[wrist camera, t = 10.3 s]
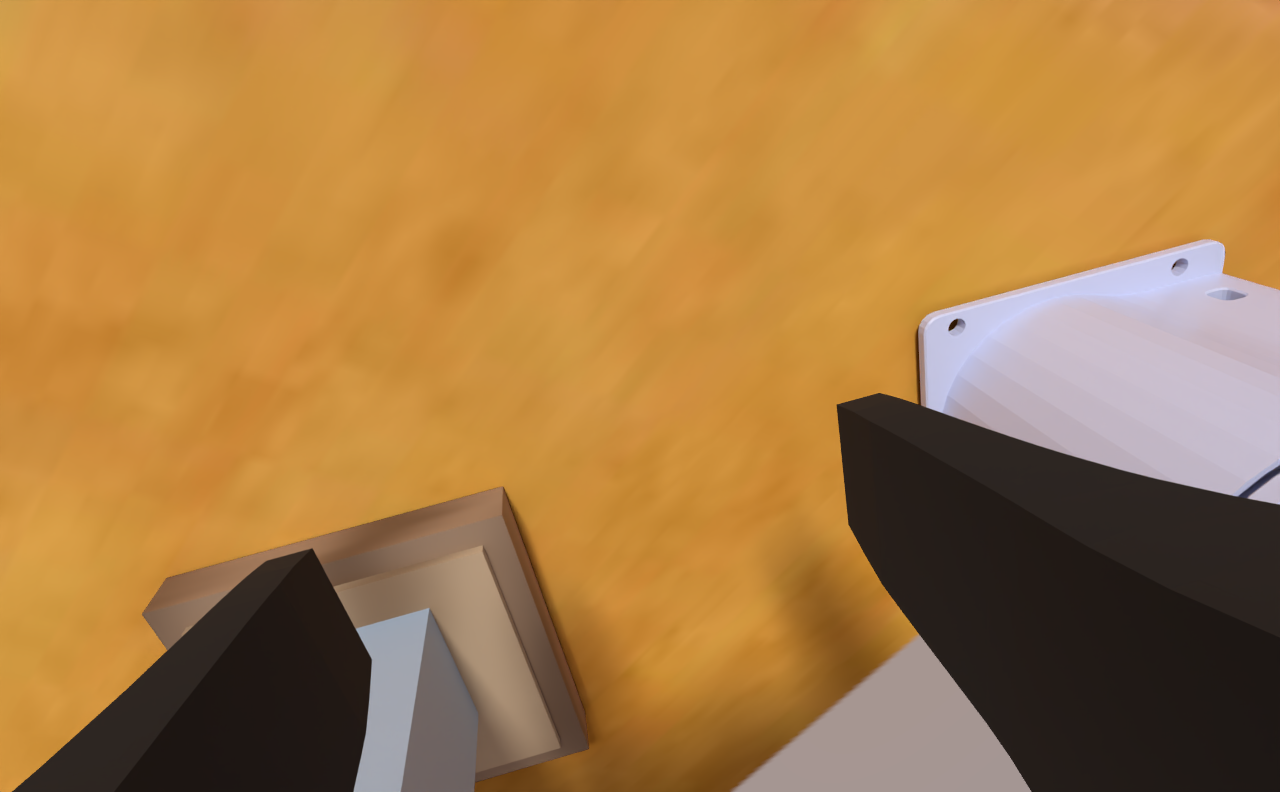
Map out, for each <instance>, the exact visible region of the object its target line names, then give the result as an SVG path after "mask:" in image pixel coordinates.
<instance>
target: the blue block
mask: <svg viewBox="0 0 1280 792" xmlns="http://www.w3.org/2000/svg"><path fill="white" fill-rule="evenodd" d="M356 630H357V632H358V634H359V636H360V638H361V640H362V642H363V643H364V645H365V647H366V649H367V651H368V653H369V655H370V656H371V658H372V668H371V684H370V699H369V709H368V719H367V729H366V736H365V741H364V746H363V750H362V755H361V760H360V764H359V769H358V774H357V778H356V783H355V787H354V792H474V787H475V769H476V751H477V732H478V712H477V709H476V707H475V705H474V703H473V701H472V699H471V696H470V694H469V692H468V690H467V688H466V686H465V684H464V681H463V679H462V677H461V675H460V673H459V671H458V668H457V666H456V664H455V662H454V660H453V658H452V655H451V653H450V651H449V649H448V647H447V645H446V643H445V640H444V638H443V636H442V634H441V632H440V630H439V627H438V625H437V623H436V621H435V619H434V617H433V614H432V612H431V610H430V608H427V609H424V610H420V611H417V612H413V613H410V614H406V615H402V616H399V617H395V618H392V619H388V620H385V621H381V622H377V623H374V624H370V625H367V626H363V627H360V628H356Z"/></svg>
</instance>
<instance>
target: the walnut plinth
mask: <svg viewBox="0 0 1280 792" xmlns="http://www.w3.org/2000/svg"><path fill="white" fill-rule="evenodd" d="M311 548H313V550H314V552H315V554H316V556H317V558H318V559H319V561H320V563H321V565H322V567H323V569H324V571H325V573H326V574H327V576H328V578H329V580H330V582H331V584H332V586H333V587H334V589H335V591H336V593H337V595H338V597H339V599H340V600H341V602H342V604H343V606H344V608H345V610H346V612H347V614H348V615H349V617H350V619H351V621H352V623H353V625H354V627H355V628H360V627H363V626H367V625H370V624H374V623H377V622H381V621H385V620H388V619H392V618H395V617H399V616H402V615H406V614H410V613H413V612H417V611H420V610H424V609H427V608H430V610H431V612H432V614H433V617H434V619H435V621H436V623H437V625H438V627H439V630H440V632H441V634H442V636H443V638H444V640H445V643H446V645H447V647H448V649H449V651H450V653H451V655H452V658H453V660H454V662H455V664H456V666H457V668H458V671H459V673H460V675H461V677H462V679H463V681H464V684H465V686H466V688H467V690H468V692H469V694H470V696H471V699H472V701H473V703H474V705H475V707H476V709H477V712H478V732H477V751H476V769H475V782H478V781H482V780H485V779H489V778H492V777H495V776H499V775H502V774H506V773H509V772H512V771H516V770H519V769H522V768H526V767H529V766H533V765H536V764H539V763H543V762H546V761H550V760H553V759H556V758H560V757H563V756H567V755H570V754H573V753H577V752H580V751H584V750H587V749H589V743H588V734H587V725H586V716H585V711H584V708H583V706H582V703H581V700H580V697H579V695H578V692H577V689H576V686H575V684H574V681H573V678H572V675H571V673H570V670H569V667H568V664H567V662H566V659H565V656H564V653H563V651H562V648H561V645H560V642H559V640H558V637H557V634H556V631H555V629H554V626H553V623H552V620H551V618H550V615H549V612H548V609H547V607H546V604H545V601H544V599H543V596H542V593H541V590H540V588H539V585H538V582H537V579H536V577H535V574H534V571H533V568H532V566H531V563H530V560H529V557H528V555H527V552H526V549H525V546H524V544H523V541H522V538H521V535H520V533H519V530H518V527H517V524H516V522H515V519H514V516H513V513H512V511H511V508H510V505H509V502H508V500H507V497H506V494H505V491H504V489H503V487H499V488H495V489H492V490H488V491H484V492H481V493H477V494H473V495H470V496H466V497H462V498H459V499H455V500H451V501H448V502H444V503H440V504H437V505H433V506H429V507H426V508H422V509H418V510H415V511H411V512H407V513H404V514H400V515H396V516H393V517H389V518H385V519H382V520H378V521H374V522H371V523H367V524H363V525H360V526H356V527H352V528H349V529H345V530H341V531H338V532H334V533H330V534H327V535H323V536H319V537H316V538H312V539H308V540H305V541H301V542H297V543H294V544H290V545H286V546H283V547H279V548H275V549H272V550H268V551H264V552H261V553H257V554H253V555H250V556H246V557H242V558H239V559H235V560H231V561H228V562H224V563H220V564H217V565H213V566H209V567H206V568H202V569H198V570H195V571H191V572H187V573H184V574H180V575H176V576H173V577H169V578H166V579H165V581H164V582H163V584H162V585H161V587H160V588H159V590H158V591H157V593H156V594H155V596H154V597H153V598H152V600H151V601H150V603H149V604H148V606H147V607H146V609H145V610H144V612H143V613H142V615H143V616H144V618H145V619H146V621H147V622H148V623H149V625H150V626H151V628H152V629H153V630H154V632H155V633H156V635H157V636H158V637H159V639H160V640H161V642H162V643H163V645H164V646H165V647H166V649H167V650H169V649H170V648H171V647H172V646H173V645H174V644H175V643H176V642H177V641H178V640H179V639H180V638H181V637H182V636H183V635H184V634H185V633H186V632H188V631H189V630H190V629H191V628H192V627H193V626H194V625H195V624H196V623H197V622H198V621H199V620H200V619H201V618H202V617H203V616H204V615H205V614H206V613H207V612H208V611H210V610H211V609H212V608H213V607H214V606H215V605H216V604H217V603H218V602H219V601H220V600H221V599H222V598H223V597H224V596H226V595H227V594H228V593H229V592H230V591H231V590H232V589H233V588H234V587H235V586H236V585H238V584H239V583H240V582H241V581H242V580H243V579H244V578H245V577H247V576H248V575H249V574H250V573H251V572H253V571H254V570H255V569H256V568H258V567H259V566H260V565H261V564H263V563H264V562H265V561H267V560H271V559H274V558H278V557H282V556H285V555H289V554H293V553H296V552H300V551H304V550H307V549H311Z"/></svg>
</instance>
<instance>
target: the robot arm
mask: <svg viewBox="0 0 1280 792" xmlns="http://www.w3.org/2000/svg"><path fill="white" fill-rule="evenodd" d="M1224 258H1225V248H1224V246H1223V244H1222V243H1220V242H1218V241H1214V240H1210V239H1205V240H1200V241H1196V242H1192V243H1189V244H1185V245H1181V246H1178V247H1174V248H1170V249H1166V250H1163V251H1159V252H1155V253H1151V254H1148V255H1144V256H1140V257H1137V258H1133V259H1129V260H1125V261H1122V262H1118V263H1114V264H1110V265H1107V266H1103V267H1099V268H1096V269H1092V270H1088V271H1084V272H1081V273H1077V274H1073V275H1069V276H1066V277H1062V278H1058V279H1055V280H1051V281H1047V282H1043V283H1040V284H1036V285H1032V286H1028V287H1025V288H1021V289H1017V290H1014V291H1010V292H1006V293H1002V294H999V295H995V296H991V297H987V298H984V299H980V300H976V301H973V302H969V303H965V304H961V305H958V306H954V307H950V308H946V309H943V310H939V311H935V312H933V313H930V314H928V315H927V316H926V317H925V318H924V319H923V320H922V322H921V323H920V325H919V330H918V338H919V363H920V389H921V405H918V404H915V403H912V402H909V401H906V400H903V399H900V398H896V397H893V396H889V395H885V394H881V393H878V394H874V395H870V396H867V397H863V398H859V399H856V400H852V401H848V402H845V403H841V404H837V413H838V423H839V433H840V443H841V453H842V463H843V473H844V483H845V493H846V503H847V513H848V523H849V526H850V528H851V530H852V532H853V533H854V535H855V537H856V539H857V541H858V543H859V544H860V546H861V548H862V550H863V552H864V554H865V555H866V557H867V559H868V561H869V562H870V564H871V566H872V567H873V569H874V571H875V573H876V574H877V576H878V578H879V580H880V581H881V583H882V585H883V586H884V587H885V589H886V590H887V591H888V593H889V594H890V596H891V597H892V598H893V600H894V601H895V602H896V604H897V605H898V606H899V608H900V609H901V610H902V612H903V613H904V614H905V616H906V617H907V618H908V620H909V621H910V622H911V624H912V625H913V626H914V628H915V629H916V630H917V632H918V633H919V634H920V636H921V637H922V638H923V640H924V641H925V642H926V644H927V645H928V646H929V648H930V649H931V650H932V652H933V653H934V654H935V656H936V657H937V658H938V659H939V661H940V662H941V663H942V665H943V666H944V667H945V669H946V670H947V671H948V673H949V674H950V675H951V677H952V678H953V679H954V680H955V682H956V683H957V685H958V686H959V687H960V688H961V690H962V691H963V692H964V694H965V695H966V696H967V698H968V699H969V700H970V702H971V703H972V704H973V706H974V707H975V708H976V710H977V711H978V712H979V714H980V715H981V716H982V718H983V719H984V720H985V721H986V723H987V724H988V726H989V727H990V729H991V730H992V732H993V733H994V734H995V736H996V737H997V739H998V740H999V742H1000V743H1001V745H1002V746H1003V747H1004V749H1005V750H1006V752H1007V753H1008V755H1009V756H1010V758H1011V759H1012V761H1013V762H1014V764H1015V766H1016V767H1017V769H1018V770H1019V772H1020V774H1021V775H1022V777H1023V779H1024V780H1025V782H1026V783H1027V785H1028V787H1029V788H1030V790H1031V791H1032V792H1280V290H1277V289H1274V288H1271V287H1267V286H1264V285H1260V284H1257V283H1253V282H1250V281H1246V280H1243V279H1240V278H1236V277H1233V276H1229V275H1226V274H1222V270H1223V264H1224ZM1176 261H1177V262H1176ZM1175 262H1176V265H1175V267H1174V268H1173V269H1172V266H1173V264H1174V263H1175ZM1171 269H1172V270H1171ZM955 319H958V322H957V325H956V327H955V328H954V329H952V330H951V331H949V330H948V328H949V325H950V323H951V322H952V321H953V320H955ZM371 668H372V658H371V656H370V655H369V653H368V651H367V649H366V647H365V645H364V643H363V642H362V640H361V638H360V636H359V634H358V632H357V630H356V628H355V627H354V625H353V623H352V621H351V619H350V617H349V615H348V614H347V612H346V610H345V608H344V606H343V604H342V602H341V600H340V599H339V597H338V595H337V593H336V591H335V589H334V587H333V586H332V584H331V582H330V580H329V578H328V576H327V574H326V573H325V571H324V569H323V567H322V565H321V563H320V561H319V559H318V558H317V556H316V554H315V552H314V550H313V548H311V549H307V550H304V551H300V552H296V553H293V554H289V555H285V556H282V557H278V558H274V559H271V560H267V561H265V562H264V563H263V564H261V565H260V566H259V567H258V568H256V569H255V570H254V571H253V572H251V573H250V574H249V575H248V576H247V577H245V578H244V579H243V580H242V581H241V582H240V583H239V584H238V585H236V586H235V587H234V588H233V589H232V590H231V591H230V592H229V593H228V594H227V595H226V596H224V597H223V598H222V599H221V600H220V601H219V602H218V603H217V604H216V605H215V606H214V607H213V608H212V609H211V610H210V611H208V612H207V613H206V614H205V615H204V616H203V617H202V618H201V619H200V620H199V621H198V622H197V623H196V624H195V625H194V626H193V627H192V628H191V629H190V630H189V631H188V632H186V633H185V634H184V635H183V636H182V637H181V638H180V639H179V640H178V641H177V642H176V643H175V644H174V645H173V646H172V647H171V648H170V649H169V650H168V651H167V652H166V653H164V654H163V655H162V656H161V657H160V658H159V659H158V660H157V661H156V662H155V663H154V664H153V665H152V666H151V667H150V668H149V669H148V670H147V671H146V672H145V673H144V674H142V675H141V676H140V677H139V678H138V679H137V680H136V681H135V682H134V683H133V684H132V685H131V686H130V687H129V688H128V689H127V690H126V691H124V692H123V693H122V694H121V695H120V696H119V697H118V698H117V699H116V700H114V701H113V702H112V703H111V704H110V705H109V706H108V707H107V708H106V709H105V710H103V711H102V712H101V713H100V714H99V715H98V716H97V717H96V718H95V719H93V720H92V721H91V722H90V723H89V724H88V725H87V726H86V727H85V728H83V729H82V730H81V731H80V732H79V733H78V734H77V735H76V736H75V737H74V738H72V739H71V740H70V741H69V742H68V743H67V744H66V745H65V746H64V747H62V748H61V749H60V750H59V751H58V752H57V753H56V754H55V755H54V756H52V757H51V758H50V759H49V760H48V761H47V762H46V763H45V764H44V765H43V766H41V767H40V768H39V769H38V770H37V771H36V772H35V773H33V774H32V775H31V776H30V777H29V778H28V779H26V780H25V781H24V782H23V783H22V784H21V785H19V786H18V787H17V788H16V789H15V790H14V791H12V792H354V787H355V783H356V778H357V774H358V769H359V764H360V760H361V755H362V750H363V746H364V741H365V736H366V729H367V719H368V709H369V699H370V684H371Z"/></svg>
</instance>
